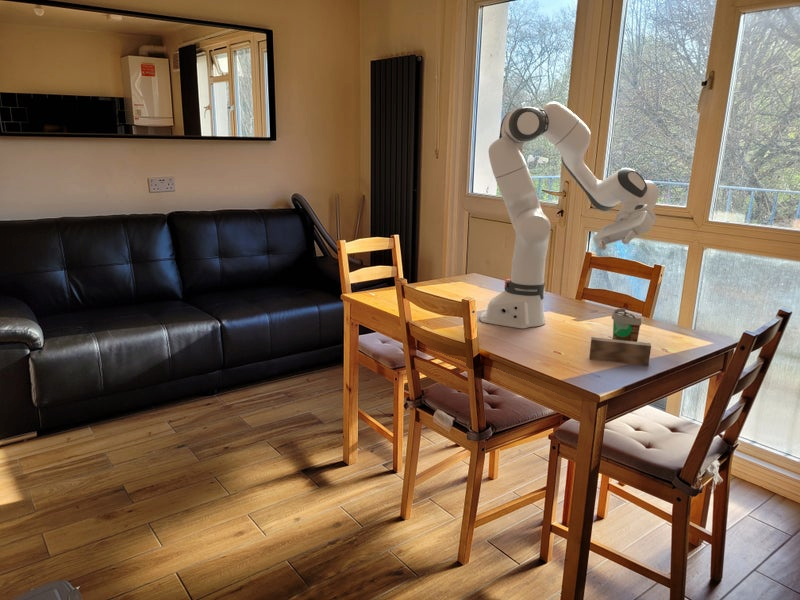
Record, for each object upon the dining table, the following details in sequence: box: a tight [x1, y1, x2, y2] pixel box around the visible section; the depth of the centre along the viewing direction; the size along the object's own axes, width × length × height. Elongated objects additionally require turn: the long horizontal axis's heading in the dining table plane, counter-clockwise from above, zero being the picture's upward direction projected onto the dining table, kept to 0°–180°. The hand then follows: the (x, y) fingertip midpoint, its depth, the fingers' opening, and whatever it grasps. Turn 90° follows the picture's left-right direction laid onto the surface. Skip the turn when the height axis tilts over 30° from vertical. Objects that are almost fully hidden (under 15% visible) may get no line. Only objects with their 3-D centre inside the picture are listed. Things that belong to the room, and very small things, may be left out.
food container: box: [610, 307, 642, 342], centre depth 187 cm, size 12×6×10 cm, turn 4°
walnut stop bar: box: [589, 336, 652, 367], centre depth 172 cm, size 16×2×6 cm, turn 73°
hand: (612, 246), depth 190 cm, fingers open, 8 cm apart
